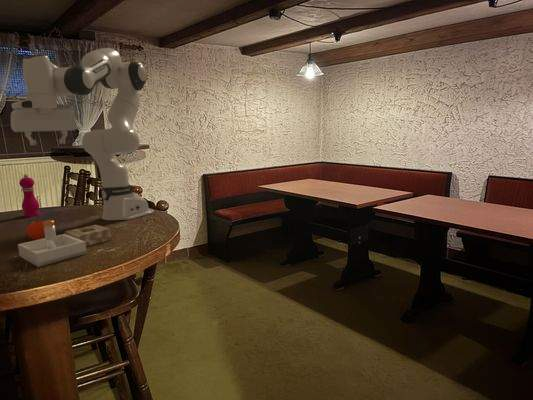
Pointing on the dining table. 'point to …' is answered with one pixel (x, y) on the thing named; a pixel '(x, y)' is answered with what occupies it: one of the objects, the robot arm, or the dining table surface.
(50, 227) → the pin
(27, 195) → the pepper mill
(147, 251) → the dining table surface
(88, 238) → the block
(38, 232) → the clementine
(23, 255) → the tray
